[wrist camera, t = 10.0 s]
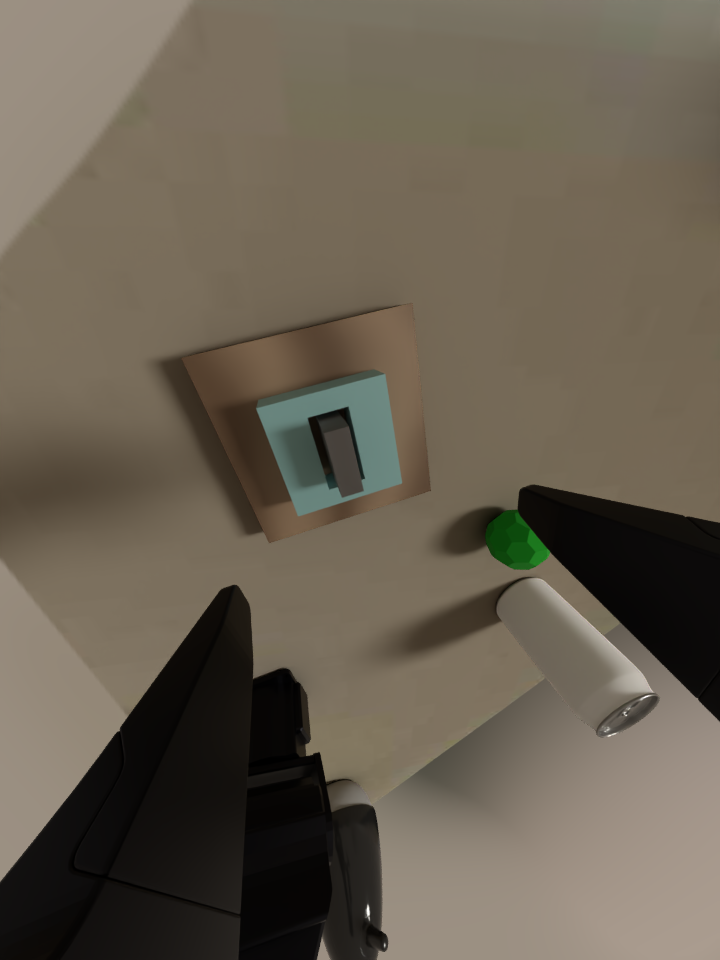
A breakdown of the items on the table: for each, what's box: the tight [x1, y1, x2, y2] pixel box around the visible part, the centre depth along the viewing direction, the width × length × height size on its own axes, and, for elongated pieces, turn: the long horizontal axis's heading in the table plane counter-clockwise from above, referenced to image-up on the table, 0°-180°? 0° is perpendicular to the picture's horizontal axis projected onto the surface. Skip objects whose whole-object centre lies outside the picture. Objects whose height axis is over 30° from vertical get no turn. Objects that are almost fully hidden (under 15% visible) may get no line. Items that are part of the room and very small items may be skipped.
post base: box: [181, 303, 431, 543], centre depth 17 cm, size 12×12×6 cm
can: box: [497, 577, 660, 737], centre depth 28 cm, size 6×6×12 cm
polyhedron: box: [485, 510, 550, 570], centre depth 25 cm, size 5×5×5 cm
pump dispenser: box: [322, 780, 388, 960], centre depth 38 cm, size 10×10×15 cm
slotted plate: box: [256, 369, 402, 516], centre depth 17 cm, size 7×7×2 cm
